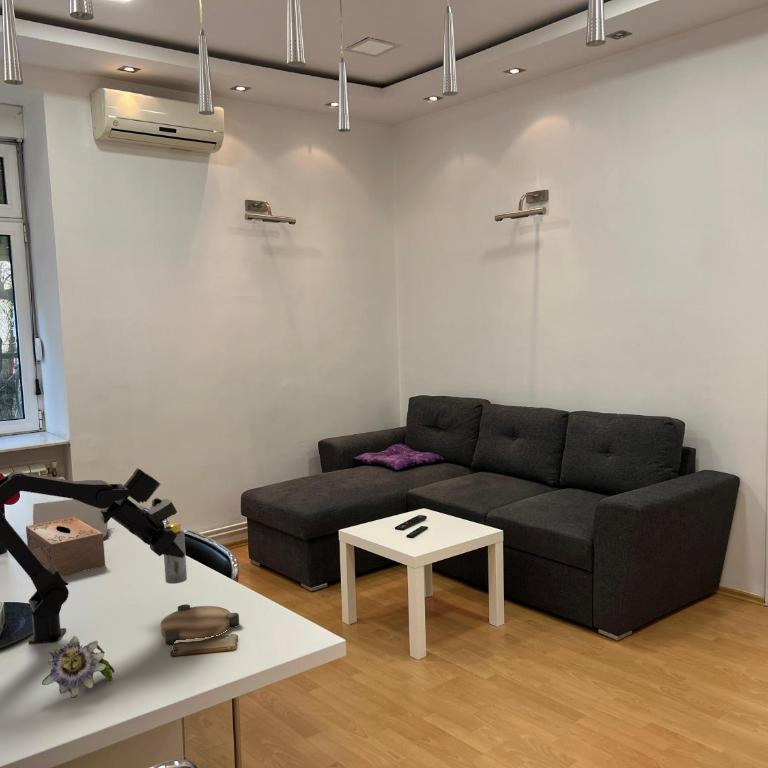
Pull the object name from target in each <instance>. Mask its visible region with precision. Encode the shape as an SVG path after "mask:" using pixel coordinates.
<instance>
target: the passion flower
mask: <svg viewBox="0 0 768 768" xmlns="http://www.w3.org/2000/svg"><path fill="white" fill-rule="evenodd" d="M80 643H81V642H80V639H79V638H78V636H76V635H73V636H72V637H71V639H70V641H69V643H67V644H66V645H63V648H61V647H55V648H54V649H53V652H52V651H51V650H49V652H48V654H49V655H51V657H52V658H51V659H49V660H48V661H47V664H48V665H50V666H52V667H51V669H50V670H49V671H50V672H49V674H48V675H46V677H45V678H43V680H42V681H41V685H44V686H47V685H51V684H53V683H57V684H58V685H59V686H58V690H59V694H60V695H62V694H63V695H64V694H65V693H67V692H69V694H70V696H71V698H75V697H77V695H78V694H79V691H80V686H82V685H83V686H85V688H87V689H92V688H93V687H94V684H95V683H94V682H95V681H94V673H96V672H100V673H101V674H102V675H103V677H104V678H105V680H107V681H108V682H112V680H113V674H115V668H114V667H113V666H112V665H111V664H110V662H109V661H108V660H106V659H105V658H104V657H105V654H106V653H105V651H104V649H103V648H101V646H100V644H99V642H98V640H94V641H91V642H89V643H88V644H86V645H84V644H80ZM83 645H84V646H83ZM96 649H97V650H98V651H99V652H96V651H95V650H96Z"/></svg>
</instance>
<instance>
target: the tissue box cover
mask: <svg viewBox="0 0 768 768" xmlns="http://www.w3.org/2000/svg"><path fill="white" fill-rule="evenodd" d="M25 531H26V544H27V546H28V547H29V548H30V549H31V551H32V552H33V553H34V554H35V556H36V557H37V558H38V559H39V560H40V562H41V563H42V564H43V565H45V566H46V567H47V568H50V567H51V566H52V565H54V566H55V567H56V569H57V570H58V572H59V574H61V575H63V576H64V577H65V576H68V575H72V573H73V574H75V573H76V572H77V573H79V572H80V571H81V572H85V571H89V570H92V568H93V569H96V567H97V568H100V566H101V567H104V566H103V565H105V566H106V557H105V543H104V538H103V533H102V532H100V531H98V530H96V529H95V528H93V527H91V526H89V525H88V524H86V523H84V522H82V521H81V520H79V519H77V518H75V517H69V518H64V519H59V520H54V521H49V522H44V523H40V524H35V525H33V524H31V525H26V526H25ZM88 569H89V570H88ZM84 570H85V571H84ZM81 572H80V573H81Z"/></svg>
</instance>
